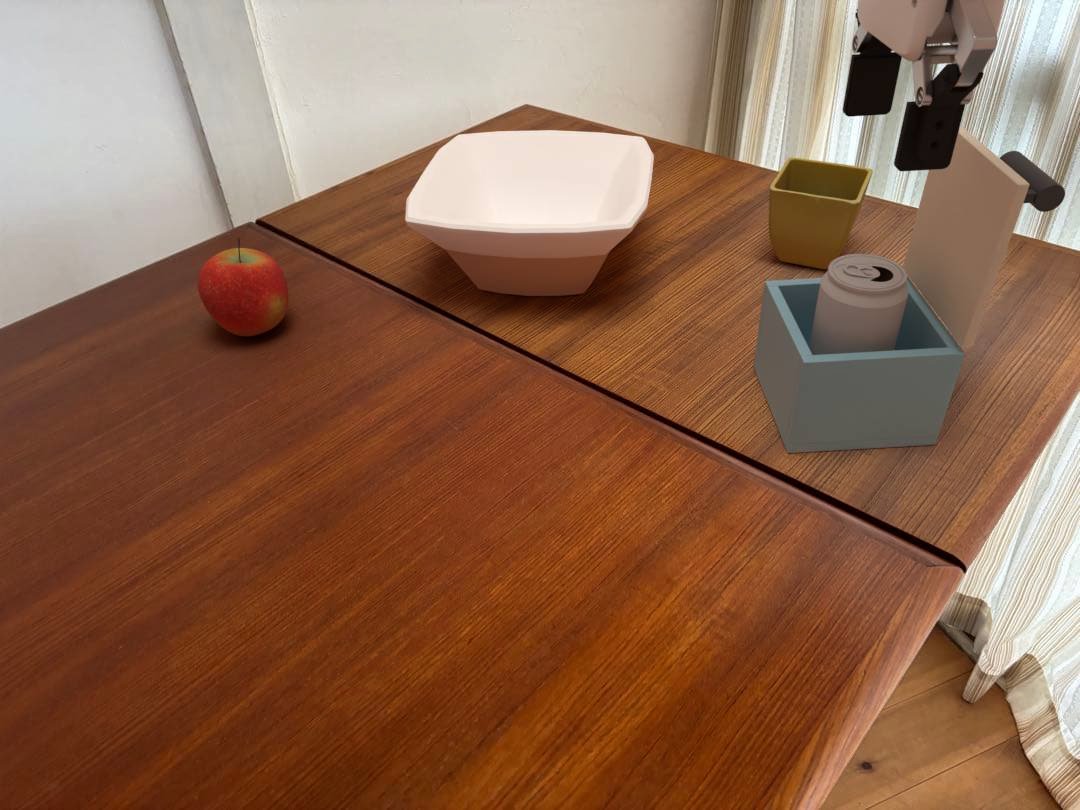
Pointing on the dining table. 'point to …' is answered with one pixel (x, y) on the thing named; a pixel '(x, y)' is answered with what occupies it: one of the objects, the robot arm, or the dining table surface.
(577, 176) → the bowl
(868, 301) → the beverage can
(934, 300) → the lid
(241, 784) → the dining table surface
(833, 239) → the flower pot
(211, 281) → the apple
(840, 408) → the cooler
